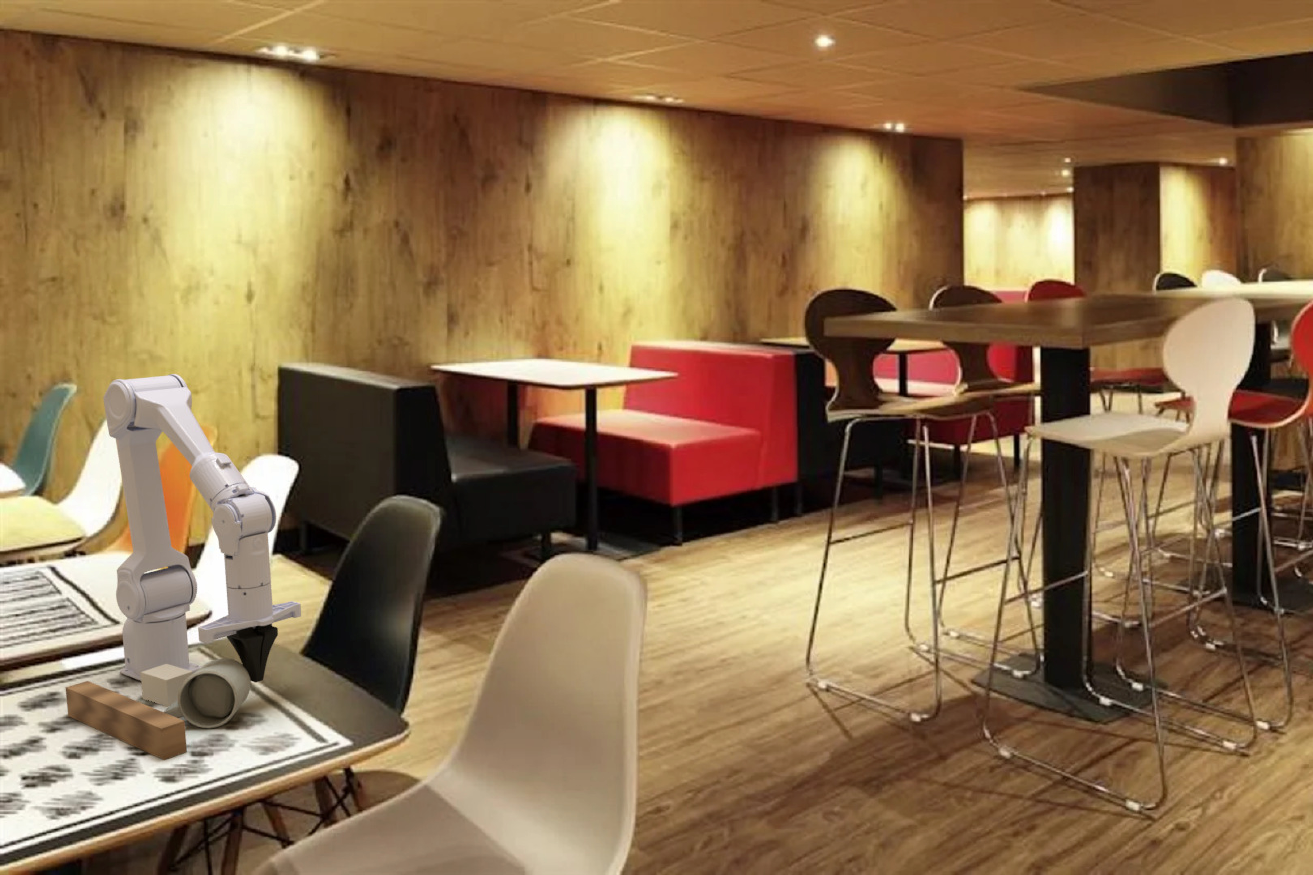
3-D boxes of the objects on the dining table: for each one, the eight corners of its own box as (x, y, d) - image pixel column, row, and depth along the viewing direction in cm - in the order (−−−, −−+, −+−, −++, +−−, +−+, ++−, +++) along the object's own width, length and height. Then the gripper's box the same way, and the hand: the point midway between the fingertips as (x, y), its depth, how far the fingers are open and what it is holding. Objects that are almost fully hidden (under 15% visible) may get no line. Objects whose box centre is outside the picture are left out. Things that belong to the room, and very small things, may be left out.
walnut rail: (68, 715, 157) (65, 687, 156) (90, 709, 159) (87, 680, 158) (164, 760, 142) (161, 728, 142) (186, 751, 145) (184, 720, 144)
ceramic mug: (255, 703, 160) (251, 649, 159) (239, 727, 152) (234, 670, 151) (176, 708, 159) (171, 654, 158) (155, 732, 151) (149, 675, 150)
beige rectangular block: (142, 699, 163) (140, 672, 162) (168, 690, 166) (166, 663, 165) (168, 708, 159) (166, 680, 159) (194, 698, 163) (192, 671, 162)
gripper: (216, 600, 150) (224, 702, 152) (312, 575, 161) (317, 670, 163) (186, 592, 154) (194, 690, 156) (281, 568, 165) (287, 660, 167)
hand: (255, 679), depth 160 cm, fingers closed
